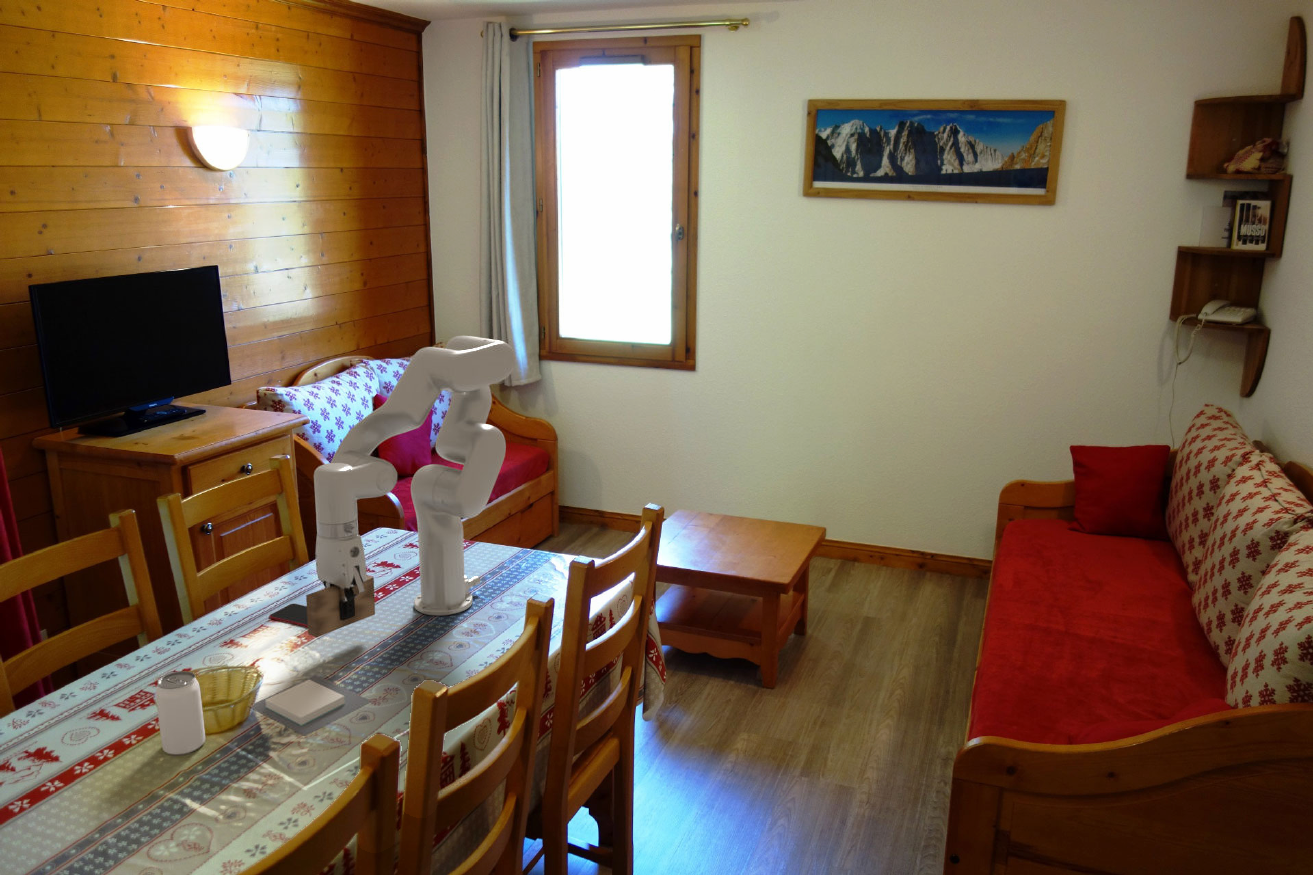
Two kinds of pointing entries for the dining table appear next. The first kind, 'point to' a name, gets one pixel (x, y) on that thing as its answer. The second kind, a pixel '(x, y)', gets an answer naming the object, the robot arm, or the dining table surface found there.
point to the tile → (305, 702)
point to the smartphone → (292, 615)
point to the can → (180, 713)
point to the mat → (350, 705)
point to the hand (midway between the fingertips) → (342, 615)
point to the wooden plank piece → (337, 608)
